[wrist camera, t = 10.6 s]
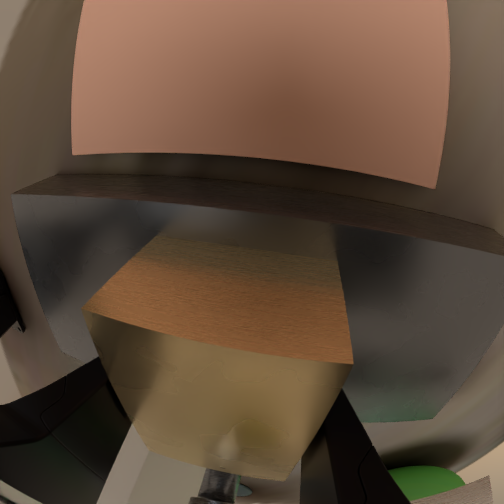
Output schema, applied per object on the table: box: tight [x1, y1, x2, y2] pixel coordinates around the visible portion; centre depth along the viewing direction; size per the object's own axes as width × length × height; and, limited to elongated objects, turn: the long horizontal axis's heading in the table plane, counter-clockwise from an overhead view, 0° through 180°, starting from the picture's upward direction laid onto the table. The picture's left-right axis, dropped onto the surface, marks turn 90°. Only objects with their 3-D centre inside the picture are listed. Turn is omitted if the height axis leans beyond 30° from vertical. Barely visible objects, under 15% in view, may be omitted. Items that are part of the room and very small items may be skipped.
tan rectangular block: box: [81, 236, 354, 481], centre depth 7 cm, size 5×7×4 cm
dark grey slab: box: [11, 174, 504, 504], centre depth 10 cm, size 20×13×7 cm
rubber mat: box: [71, 0, 450, 189], centre depth 7 cm, size 14×9×1 cm, turn 85°
